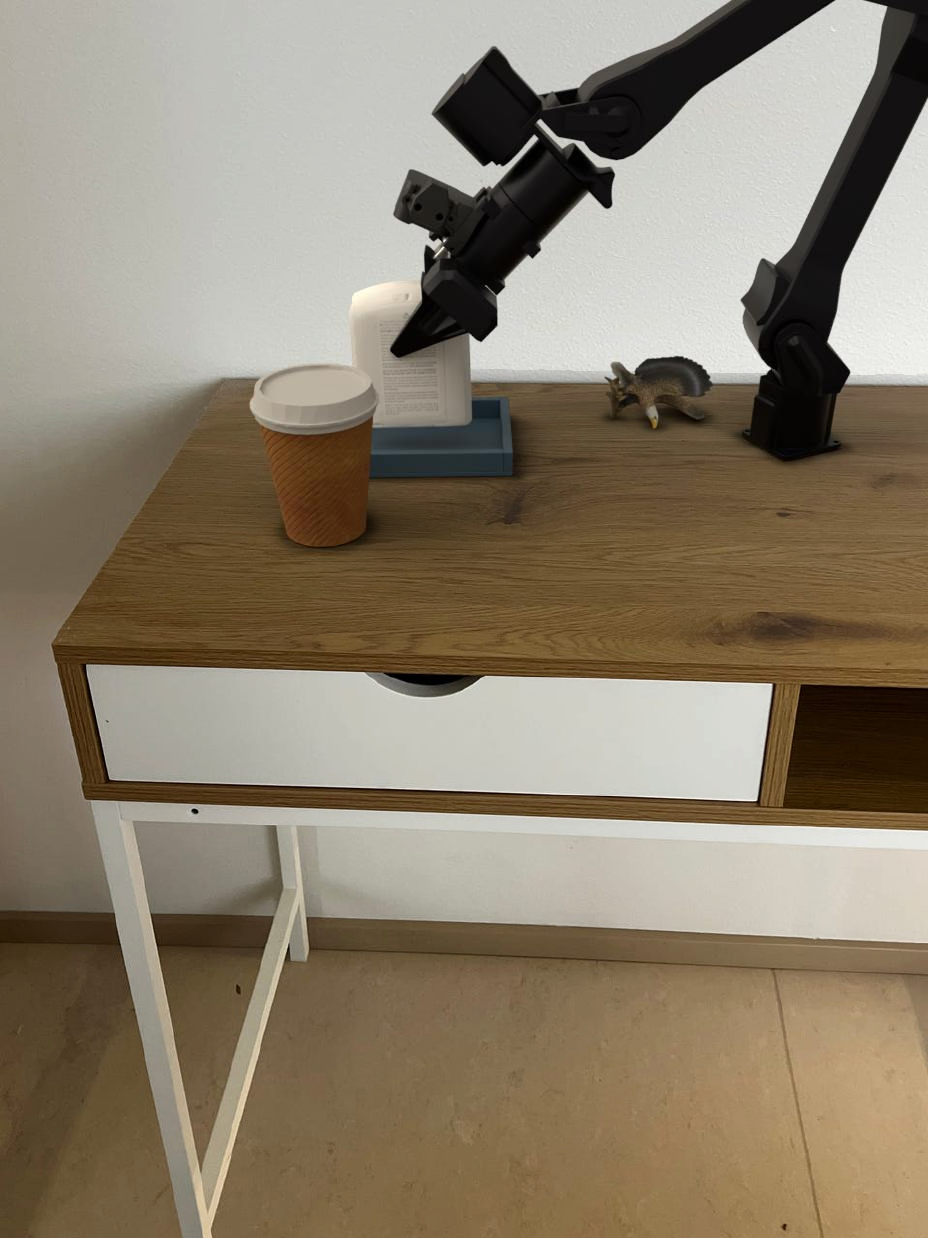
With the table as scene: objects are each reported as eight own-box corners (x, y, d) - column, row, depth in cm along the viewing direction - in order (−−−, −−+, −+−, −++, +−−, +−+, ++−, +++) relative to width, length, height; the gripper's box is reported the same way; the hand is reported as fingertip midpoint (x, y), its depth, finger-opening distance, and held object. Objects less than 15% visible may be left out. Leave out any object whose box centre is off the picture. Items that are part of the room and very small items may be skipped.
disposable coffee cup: (283, 568, 85) (266, 417, 79) (252, 514, 93) (234, 372, 86) (403, 542, 88) (396, 395, 82) (364, 492, 96) (355, 353, 89)
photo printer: (473, 413, 103) (467, 273, 97) (473, 429, 99) (466, 284, 93) (360, 417, 103) (347, 278, 98) (355, 433, 100) (341, 289, 94)
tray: (508, 418, 108) (508, 396, 107) (512, 475, 98) (513, 452, 97) (323, 420, 109) (321, 398, 107) (307, 478, 98) (305, 454, 97)
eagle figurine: (621, 430, 103) (719, 408, 102) (604, 353, 103) (702, 330, 102) (612, 443, 110) (704, 422, 110) (596, 371, 110) (688, 350, 110)
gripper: (452, 114, 97) (333, 249, 103) (449, 157, 81) (309, 314, 87) (544, 207, 101) (424, 333, 107) (558, 266, 85) (417, 409, 91)
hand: (395, 344), depth 98 cm, fingers closed on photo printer, 4 cm apart
